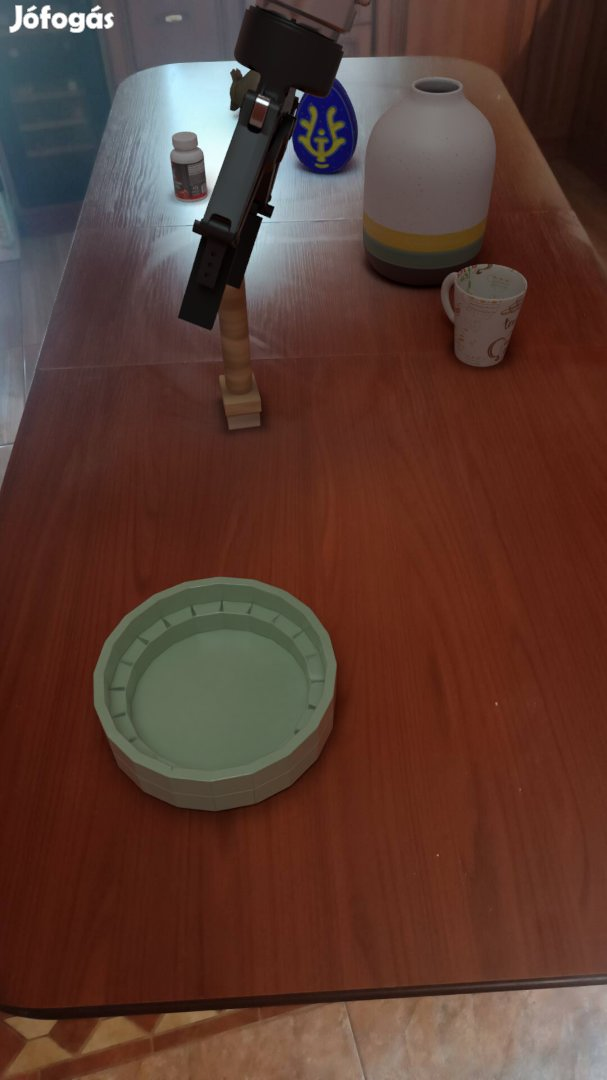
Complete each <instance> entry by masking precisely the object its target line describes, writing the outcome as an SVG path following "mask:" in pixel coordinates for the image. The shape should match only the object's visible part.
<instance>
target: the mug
mask: <svg viewBox="0 0 607 1080" xmlns="http://www.w3.org/2000/svg"><path fill="white" fill-rule="evenodd" d="M452 286H453V290H454V291H453V301H454V302H453V307H454V308H453V309H452V306H451V302H450V291H451V288H452ZM527 290H528V281H527V279H526V277H525V276H524V275H522V273H520V271H517V270H516V269H513V268H511V267H509V266H504V265H501V264H494V263H480V264H473V265H472V266H469V267H467V268H464V269H463V270H461V271H460V272H459V273H457V272H453V273H451V274H449V275H448V276H447V277H446V278H445V280H444V282H443V283H442V284H441V288H440V299H441V300H440V301H441V304H442V307H443V310H444V312H445V314H446V316H447V317H448V319H449V320H450V321H451V323H452V324H453V325H454V326H453V328H454V329H453V330H454V332H453V334H454V339H453V340H454V345H453V346H454V355H455V357H456V358H457V359H458V360H459V361H460V362H462V363H464V364H466V365H469V366H473V367H478V368H479V367H480V368H482V367H483V368H485V367H491V366H495V365H497V364H498V363H500V362H501V361H503V359H504V356H505V354H506V351H507V348H508V345H509V343H510V340H511V337H512V333H513V331H514V328H515V325H516V322H517V319H518V317H519V313H520V312H521V311H520V310H521V308H522V305H523V303H524V299H525V297H526V294H527Z"/></svg>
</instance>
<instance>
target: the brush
mask: <svg viewBox="0 0 607 1080" xmlns="http://www.w3.org/2000/svg"><path fill="white" fill-rule="evenodd" d="M246 289H247V288H246V277H245V275H244V278H243V281H242V284H241V287H240V289H237V288H234V287H232V286H229V285H227V284H226V288H225V291H224V294H223V297H222V300H221V303H220V307H219V310H218V313H217V316H218V324H219V335H220V343H221V354H222V365H223V374H219V375H218V382H219V390H220V394H221V400H222V404H223V409H224V413H225V417H226V422H227V427H228V431H229V430H230V431H231V430H237V429H246V428H253V427H260V426H261V414H260V413H261V412H262V399H261V395H260V391H259V388H258V385H257V384H258V383H257V380H256V375H255V373H254V370H253V371H252V357H251V345H250V342H251V341H250V329H249V319H248V318H249V317H248V305H247V291H246Z"/></svg>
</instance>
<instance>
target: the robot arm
mask: <svg viewBox="0 0 607 1080" xmlns="http://www.w3.org/2000/svg"><path fill="white" fill-rule="evenodd" d="M371 2H372V0H256V1H255V3H254V5H252V4H250V5H249V7H248V8H245V11H244V14H243V18H242V21H241V25H240V28H239V31H238V36H237V38H236V43H235V46H234V50H233V57H234V60H235V61H236V62H237V63H238V64H239V65H241V66H242V67H244V68H246V69H249V71H250V70H253V71H255V72H258V73H259V74H260V76H261V77H260V80H259V83H258V85H257V87H256V90H255V91H253V90H251V89H248V91H247V93H246V94H245V95H244V97H243V102H242V105H241V107H240V108H239V109H238V119H237V123H236V125H235V128H234V130H233V133H232V136H231V139H230V142H229V144H228V147H227V151H226V153H225V156H224V158H223V161H222V164H221V167H220V170H219V172H218V175H217V178H216V180H215V183H214V187H213V189H212V191H211V194H210V198H209V200H208V202H207V205H206V209H205V210H204V211H205V212H204V214H203V216H202V218H201V219H200V220H198V219H196V218H195V219H194V221H193V224H192V229H191V232H192V233H194V234H197V235H199V236H200V239H199V243H198V246H197V250H196V253H195V257H194V261H193V264H192V267H191V270H190V274H189V276H188V280H187V284H186V288H185V290H184V293H183V298H182V300H181V304H180V308H179V312H178V314H177V319H180V320H182V321H184V322H187V323H190V324H192V325H195V326H197V327H200V328H202V329H205V330H208V331H210V332H211V331H212V330H213V329H214V324H215V322H216V319H217V316H218V310H219V307H220V303H221V300H222V297H223V294H224V291H225V288H226V284H227V285H229V286H232V287H234V288H237V289H240V287H241V284H242V281H243V278H244V275H245V274H246V272H247V269H248V265H249V263H250V259H251V257H252V253H253V250H254V248H255V244H256V241H257V237H258V235H259V232H260V229H261V226H262V223H263V219H264V217H265V218H268V219H271V218H272V217H273V214H274V212H275V211H274V210H275V208H276V207H275V206H274V205H272V204H270V202H271V201H272V198H273V196H272V194H273V190H274V187H275V184H276V183H275V182H276V180H277V177H278V176H277V175H278V172H279V169H280V166H281V163H282V162H283V159H284V157H285V155H286V152H287V149H288V146H289V141H290V140H292V134H293V132H294V129H295V127H296V123H297V119H298V117H295V113H296V110H297V109H298V106H299V102H300V97H299V96H297V95H296V93H297V91H299V92H300V93H303V94H304V93H306V94H309V95H312V96H315V97H318V98H325V97H327V96H328V95H329V94H330V92H331V89H332V86H333V83H334V80H335V78H336V77H337V74H338V72H339V68H340V66H341V62H342V60H343V57H344V55H345V54H344V53H345V51H344V50H343V47H344V46H343V45H342V44H341V43H338V40H339V38H340V36H341V35H343V36H347V35H349V34H351V31H352V28H353V25H354V22H355V20H356V16H357V14H358V11H357V8H356V5H359V6H361V7H362V8H367V7H368V6H370V4H371ZM262 216H263V217H262Z"/></svg>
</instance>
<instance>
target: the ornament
mask: <svg viewBox="0 0 607 1080" xmlns="http://www.w3.org/2000/svg"><path fill="white" fill-rule="evenodd" d="M298 103H299V106H298V109H296V111H295V114H294V116H295V117H298V119H297V123H296V127H295V129H294V132H293V134H292V137H291V142H292V149H293V151H294V153H295V155H296V157H297V159H298V160H299V162H300V163H301V164H302V165H303V167H305V168H306V169H308V170H309V171H312V172H314V173H316V174H323V175H326V174H327V175H328V174H333V173H335V172H338V171H340V170H342V169H343V168H345V167H346V166H347V164H349V163H350V161H351V160H352V158H353V156H354V155H355V152H356V149H357V145H358V137H359V125H358V120H357V116H356V112H355V109H354V106H353V103H352V101H351V98H350V97H349V94H348V92H347V90H346V89H345V87H344V85H343V84H342V83H341V82H340V81H339V79H338V78H336V77H335V80H334V83H333V86H332V89H331V92H330V94H329V95H328V96H327V97H325V98H318V97H315V96H312V95H309V94H306V93H304V92H303V94H302V95H301V98H300V99H299V102H298Z"/></svg>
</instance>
